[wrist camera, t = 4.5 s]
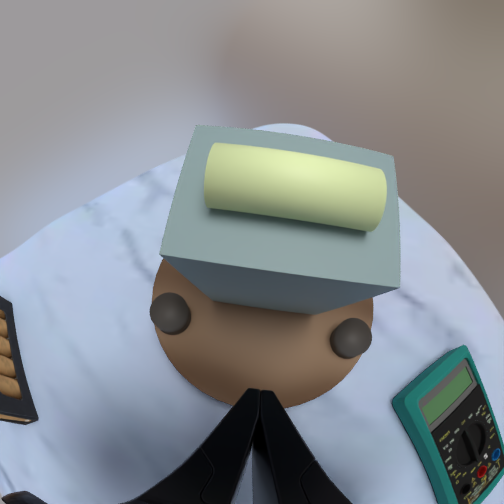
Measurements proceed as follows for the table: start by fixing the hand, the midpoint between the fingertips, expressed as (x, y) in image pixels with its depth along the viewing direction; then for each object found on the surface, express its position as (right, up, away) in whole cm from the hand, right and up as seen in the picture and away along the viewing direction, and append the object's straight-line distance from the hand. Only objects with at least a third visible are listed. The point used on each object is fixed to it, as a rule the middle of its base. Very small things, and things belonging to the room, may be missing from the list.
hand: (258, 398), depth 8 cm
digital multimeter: (+15, -10, +6) cm, 19 cm away
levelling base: (+1, +2, +11) cm, 11 cm away
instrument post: (+1, +3, +9) cm, 10 cm away
